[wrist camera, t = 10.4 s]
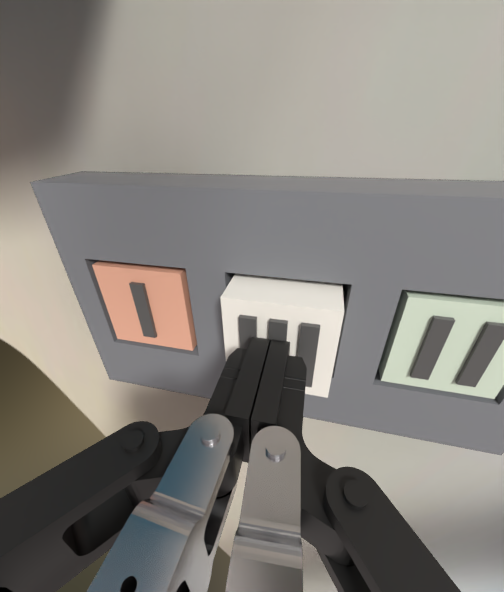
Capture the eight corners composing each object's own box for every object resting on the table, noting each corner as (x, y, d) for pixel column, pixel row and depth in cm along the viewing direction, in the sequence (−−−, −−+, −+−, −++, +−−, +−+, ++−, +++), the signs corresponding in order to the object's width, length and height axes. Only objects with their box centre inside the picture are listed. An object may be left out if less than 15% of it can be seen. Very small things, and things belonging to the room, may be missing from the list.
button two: (507, 272, 12) (556, 315, 10) (466, 351, 15) (496, 402, 12) (393, 263, 13) (409, 299, 11) (372, 339, 16) (381, 384, 13)
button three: (341, 273, 12) (344, 314, 10) (328, 351, 15) (327, 401, 12) (240, 264, 13) (218, 299, 11) (243, 339, 16) (226, 383, 13)
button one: (204, 248, 15) (178, 276, 12) (212, 318, 17) (191, 353, 15) (128, 242, 16) (89, 266, 13) (146, 309, 18) (115, 340, 16)
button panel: (612, 183, 10) (706, 204, 7) (475, 404, 16) (501, 455, 14) (81, 171, 14) (30, 182, 12) (136, 348, 21) (109, 379, 18)
